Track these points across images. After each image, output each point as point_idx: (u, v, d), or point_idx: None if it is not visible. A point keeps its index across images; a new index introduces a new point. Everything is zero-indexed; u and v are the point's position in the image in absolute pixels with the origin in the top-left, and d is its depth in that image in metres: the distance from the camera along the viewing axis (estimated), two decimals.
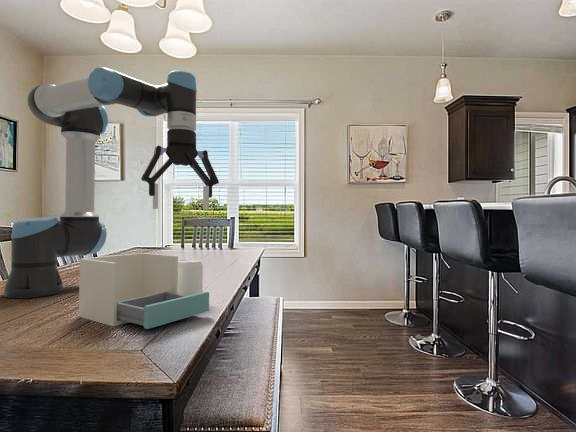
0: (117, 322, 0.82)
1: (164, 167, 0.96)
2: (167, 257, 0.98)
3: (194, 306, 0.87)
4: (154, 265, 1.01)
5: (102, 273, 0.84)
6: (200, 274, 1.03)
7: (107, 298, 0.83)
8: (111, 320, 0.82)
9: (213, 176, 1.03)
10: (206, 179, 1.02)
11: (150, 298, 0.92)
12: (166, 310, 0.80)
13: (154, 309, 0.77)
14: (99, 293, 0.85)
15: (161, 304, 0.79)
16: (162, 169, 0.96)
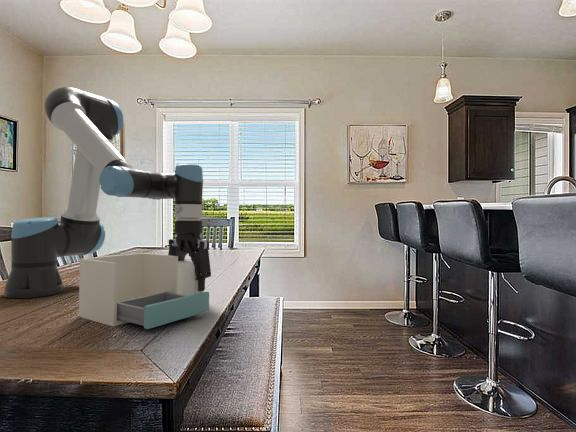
0: (117, 322, 0.82)
1: None
2: (167, 257, 0.98)
3: (194, 306, 0.87)
4: (154, 265, 1.01)
5: (102, 273, 0.84)
6: (200, 274, 1.03)
7: (107, 298, 0.83)
8: (111, 320, 0.82)
9: (201, 269, 0.99)
10: (196, 272, 1.00)
11: (150, 298, 0.92)
12: (166, 310, 0.80)
13: (154, 309, 0.77)
14: (99, 293, 0.85)
15: (161, 304, 0.79)
16: None
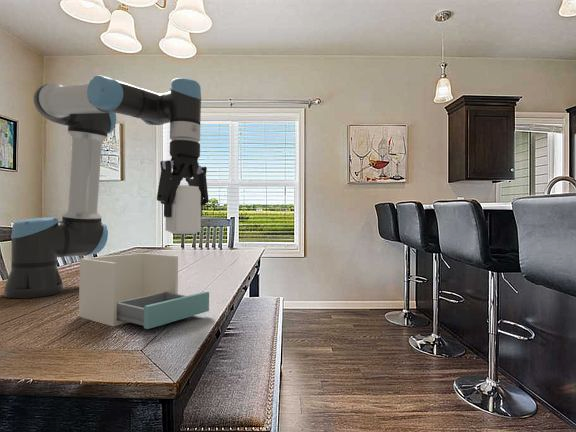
0: (117, 322, 0.82)
1: (177, 184, 0.91)
2: (167, 257, 0.98)
3: (194, 306, 0.87)
4: (154, 265, 1.01)
5: (102, 273, 0.84)
6: None
7: (107, 298, 0.83)
8: (111, 320, 0.82)
9: (205, 194, 1.00)
10: None
11: (150, 298, 0.92)
12: (166, 310, 0.80)
13: (154, 309, 0.77)
14: (99, 293, 0.85)
15: (161, 304, 0.79)
16: (176, 186, 0.91)
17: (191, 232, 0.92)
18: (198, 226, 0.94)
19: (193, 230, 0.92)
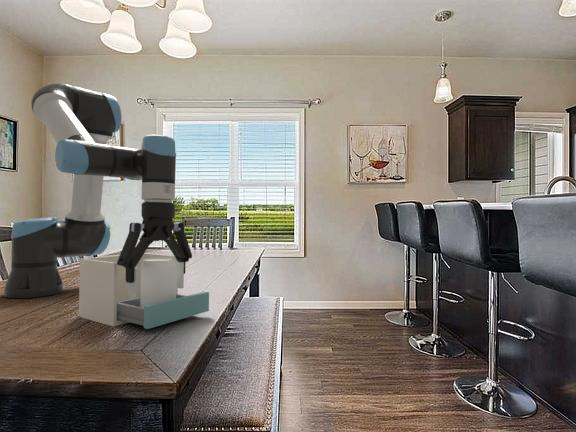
0: (117, 322, 0.82)
1: (144, 247, 0.83)
2: (167, 257, 0.98)
3: (194, 306, 0.87)
4: None
5: (102, 273, 0.84)
6: None
7: (107, 298, 0.83)
8: (111, 320, 0.82)
9: (187, 250, 0.94)
10: (181, 255, 0.93)
11: None
12: (166, 310, 0.80)
13: (154, 309, 0.77)
14: (99, 293, 0.85)
15: (161, 304, 0.79)
16: (142, 250, 0.83)
17: None
18: None
19: None
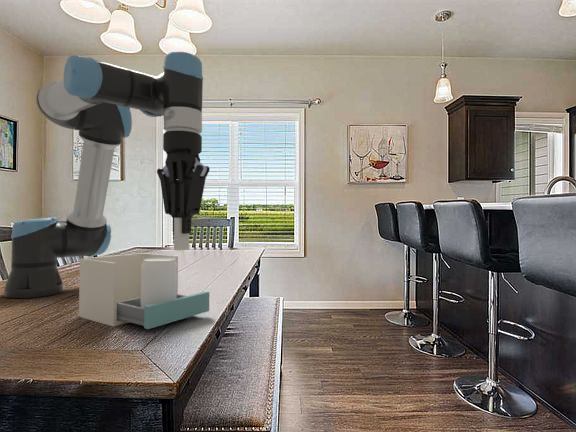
0: (117, 322, 0.82)
1: (172, 191, 0.74)
2: (167, 257, 0.98)
3: (194, 306, 0.87)
4: None
5: (102, 273, 0.84)
6: None
7: (107, 298, 0.83)
8: (111, 320, 0.82)
9: (188, 202, 0.72)
10: (181, 206, 0.73)
11: None
12: (166, 310, 0.80)
13: (154, 309, 0.77)
14: (99, 293, 0.85)
15: (161, 304, 0.79)
16: (172, 194, 0.74)
17: None
18: None
19: None
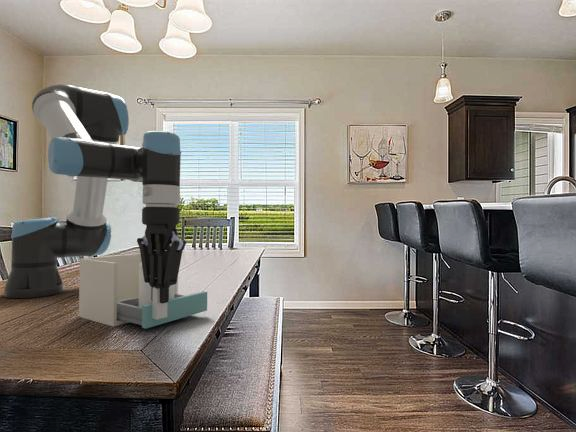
0: (117, 322, 0.82)
1: (151, 261, 0.78)
2: None
3: (192, 306, 0.87)
4: None
5: (102, 273, 0.84)
6: None
7: (107, 298, 0.83)
8: (111, 320, 0.82)
9: (166, 274, 0.75)
10: (159, 277, 0.77)
11: None
12: None
13: None
14: (99, 293, 0.85)
15: None
16: (151, 265, 0.78)
17: None
18: None
19: None
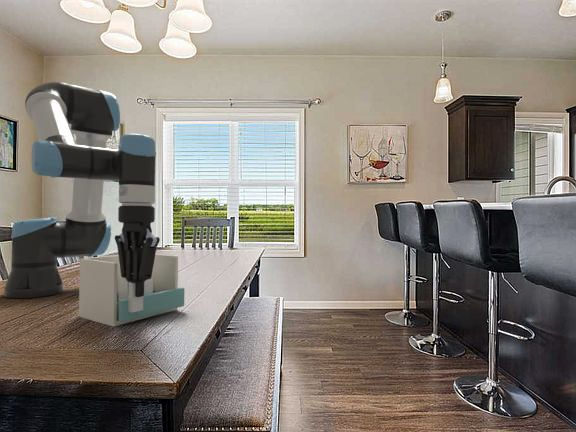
0: (117, 322, 0.82)
1: (127, 257, 0.82)
2: (167, 257, 0.98)
3: (169, 301, 0.91)
4: (154, 265, 1.01)
5: (102, 273, 0.84)
6: None
7: (107, 298, 0.83)
8: (111, 320, 0.82)
9: (140, 269, 0.80)
10: (134, 272, 0.81)
11: None
12: None
13: None
14: (99, 293, 0.85)
15: None
16: (127, 261, 0.82)
17: None
18: None
19: None
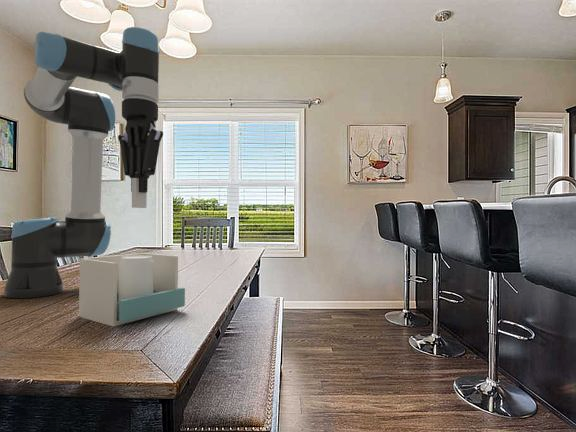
0: (117, 322, 0.82)
1: (131, 154, 0.82)
2: (167, 257, 0.98)
3: (170, 301, 0.91)
4: (154, 265, 1.01)
5: (102, 273, 0.84)
6: None
7: (107, 298, 0.83)
8: (111, 320, 0.82)
9: (144, 163, 0.80)
10: (138, 167, 0.81)
11: None
12: (141, 304, 0.84)
13: (129, 303, 0.82)
14: (99, 293, 0.85)
15: (136, 299, 0.83)
16: (130, 157, 0.82)
17: None
18: None
19: None
